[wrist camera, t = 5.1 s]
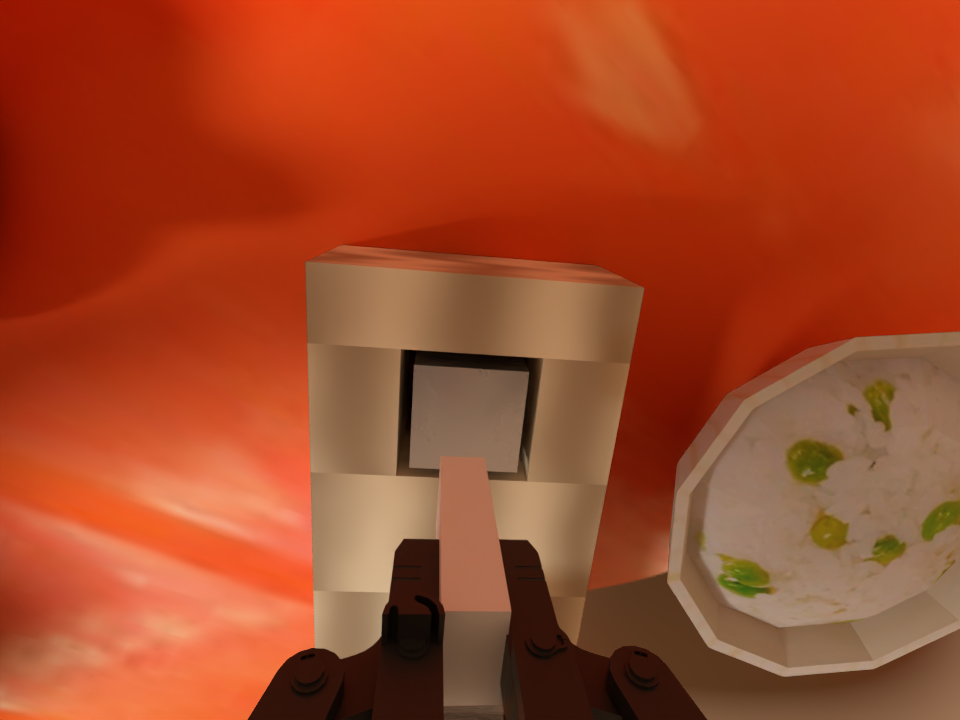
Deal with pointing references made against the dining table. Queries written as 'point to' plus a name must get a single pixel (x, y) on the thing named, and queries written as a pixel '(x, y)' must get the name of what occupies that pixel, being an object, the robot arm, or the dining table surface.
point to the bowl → (826, 508)
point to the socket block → (387, 424)
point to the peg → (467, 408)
